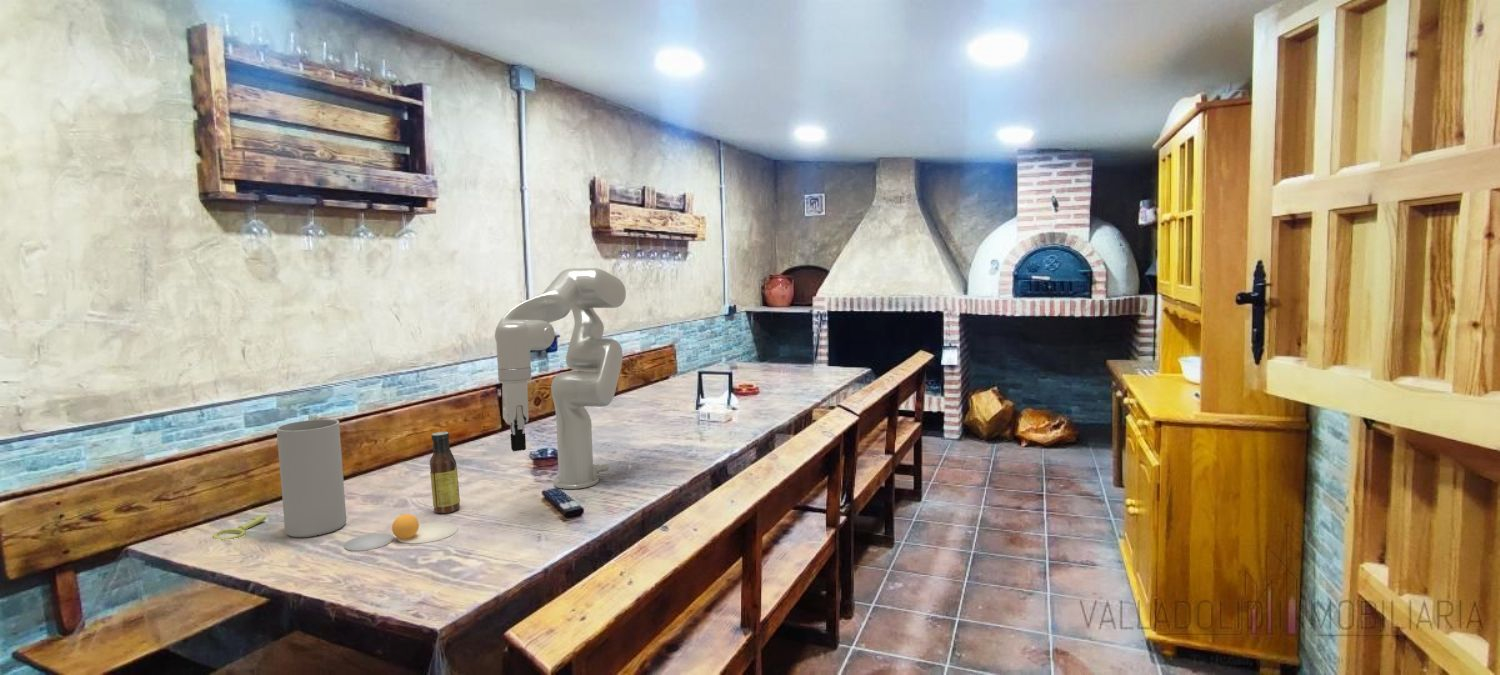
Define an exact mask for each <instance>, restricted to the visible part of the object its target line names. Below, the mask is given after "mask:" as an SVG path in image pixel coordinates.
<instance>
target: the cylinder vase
mask: <svg viewBox="0 0 1500 675" xmlns="http://www.w3.org/2000/svg"><path fill="white" fill-rule="evenodd" d="M276 438H277V450H278V461H279V463H278V464H279V472H280V473H279V474H280V486H281V487H280V488H281V497H282V500H281V501H282V511H283V520H284V521H283V523H284V532H285V534H286V535H287V536H290V537H292V538H311V537H310V536H313V537H317V535H319V536H323V535H327V534H330V533H332V532H335V531H337V530H340V529H341V528H343V527H344V526H345V525H346V523H347V512H346V498H345V496H346V495H345V494H346V493H345V483H344V470H343V469H344V468H343V456H342V443H341V440H342V439H341V431H340V420H336V419H327V418H325V419H323V418H322V419H320V418H319V419H308V420H301V421H294V422H290V423H285V424H283V425H279V426H278V427H276ZM326 533H327V534H326ZM322 534H323V535H322Z"/></svg>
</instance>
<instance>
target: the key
mask: <svg viewBox="0 0 1500 675" xmlns="http://www.w3.org/2000/svg"><path fill="white" fill-rule="evenodd" d="M265 520H267V516H266V515H265V514H263V515H261V516H255V517H253V518H252V520H251V521H249V522H248V523H246V524H244V525H238V527H237V528H226V529H221V530H218V531H216V532H215V533H213V534H212V539H213V538H215V539H221V540H220V541H226V540H225V539H233V540H235V539H234V538H238V539H240V538H239V537H242V536H244V535H245V536H246V535H247V533H246V531H245V529H247V528H249V529H250V528H253V527H254V526H256V525H258V524H260V523H262V522H264V521H265ZM247 530H248V529H247ZM223 533H228V534H236V535H235V536H228V537H221V536H220V535H219V534H221V535H224V534H223ZM237 533H241V534H238V535H237ZM217 535H219V536H217ZM245 536H244V537H245ZM242 538H243V537H242ZM215 539H214V540H215ZM223 539H224V540H223Z"/></svg>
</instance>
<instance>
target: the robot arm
mask: <svg viewBox="0 0 1500 675" xmlns="http://www.w3.org/2000/svg"><path fill="white" fill-rule="evenodd" d="M626 297H627V291H626V287H625V284H624V283H623V281H622V280H621V279H619V277H616V276H615V275H613V274H611V273H609V272H607V271H605V270H603V269H600V268H597V267H596V268H594V267H589V268H588V267H586V268H585V267H584V268H583V267H582V268H575V267H574V268H567V269H564V270H562V271H561V272H559V274H558V275H557V276H556V277H555V278H554V279H553V280H552V282H551V283H550V284H549V286H548V287H547V288H546V289H544V291H543V292H541V293H540V294H538V295H536V296H533V297H531V298H529V299H527V300H526V301H523V302H521V303H519V304H517V305H515V306H513V307H512V308H510V309H509V310H508V311H507V312H506V314H504V316H503V317H502V318H501V319H500V320H499V322H498V324H497V326H496V327H495V331H494V332H495V333H494V338H495V341H496V342H495V344H496V358H497V359H496V360H497V377H498V380H497V381H498V383H500V384H502V385H501V386H502V387H501V389H502V391H501V392H502V394H501V396H502V419H503V420H504V421H505V423H506V424H507V425H510V448H511V451H512V452H520V451H526V449H527V442H526V441H527V440H526V433H525V423H528V422H529V420H530V419H529V394H528V392H529V391H528V383H527V382H531V381H532V364H531V351H543V350H547V349H548V348H549V347H551V345H552V344H553V343H554V340H555V337H556V336H555V335H556V332H555V329H554V326H553V325H552V324H551V323H553V322H556V321H558V320H561V319H564V318H566V317H567V316H568V314H570V312H572V314H573V319H574V325H573V328H572V329H573V331H572V333H571V337H570V340H569V345H568V348H567V352H566V355H565V362H566V365H567V367H568V368H569V369H570V370H573V371H564V372H560V373H558V374H557V375H556V376H554V378H553V379H552V381H551V384H550V386H551V387H550V392H551V397H552V400H553V404H554V410H555V419H556V444H557V464H558V465H557V466H558V468H557V469H558V476H557V477H556V478H553V481H552V482H553V486H554V487H555V488H558V489H562V488H563V490H564V489H565V490H579V489H583V488H589V487H592V486H595V485H597V484H598V483H599V482H600V476H599V475H598V474H600V473H601V472H608V471H609V468H610V467H609V465H608V463H605V464H599V463H597V464H594V455H593V453H594V452H593V433H592V432H593V430H592V428H593V426H592V419H591V415H590V413H589V412H588V410H587V409H586V407H591V408H592V407H593V408H596V407H597V408H598V407H607V406H609V405H610V404H611V403H612V401H613V399H614V397H615V394H616V389H617V385H618V382H619V377H620V374H621V370H622V365H623V358H624V355H623V348H622V345H621V344H620V342H619V341H618V340H616V339H613V338H603V335H604V331H605V327H604V323H603V321H602V320H601V317H600V316H599V315H598V314H597V313H596V311H595V309H600V308H601V309H615V308H619V307H621V306H622V305H624V303H625V301H626Z"/></svg>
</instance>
